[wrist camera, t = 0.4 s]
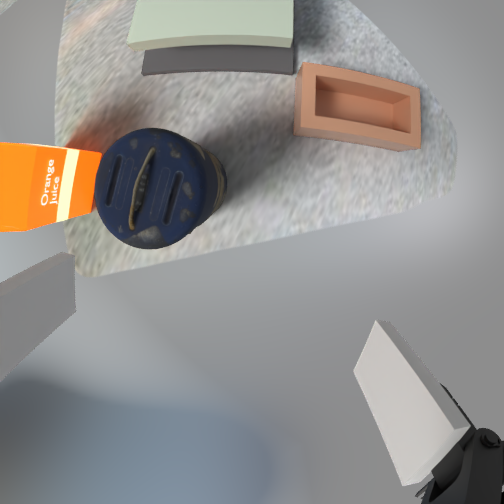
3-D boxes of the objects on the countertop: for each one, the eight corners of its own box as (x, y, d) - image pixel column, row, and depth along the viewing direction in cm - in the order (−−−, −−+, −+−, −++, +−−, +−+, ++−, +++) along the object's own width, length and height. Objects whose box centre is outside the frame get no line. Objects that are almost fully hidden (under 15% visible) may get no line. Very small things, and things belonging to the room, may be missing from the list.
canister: (242, 172, 35) (232, 163, 18) (203, 234, 37) (162, 281, 20) (180, 134, 34) (120, 100, 17) (144, 197, 36) (64, 214, 19)
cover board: (150, -13, 23) (144, -22, 20) (291, -18, 23) (293, -28, 20) (134, 51, 25) (126, 43, 23) (290, 47, 26) (293, 38, 23)
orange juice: (53, 203, 36) (-45, 226, 17) (63, 146, 34) (-38, 140, 15) (91, 213, 37) (-10, 244, 17) (103, 152, 35) (-1, 143, 15)
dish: (295, 78, 32) (302, 61, 26) (398, 98, 32) (419, 88, 27) (293, 135, 34) (300, 127, 28) (398, 151, 34) (420, 148, 28)
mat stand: (157, 5, 29) (144, -16, 23) (293, 3, 29) (299, -21, 23) (143, 75, 32) (125, 59, 26) (291, 75, 32) (299, 56, 26)
